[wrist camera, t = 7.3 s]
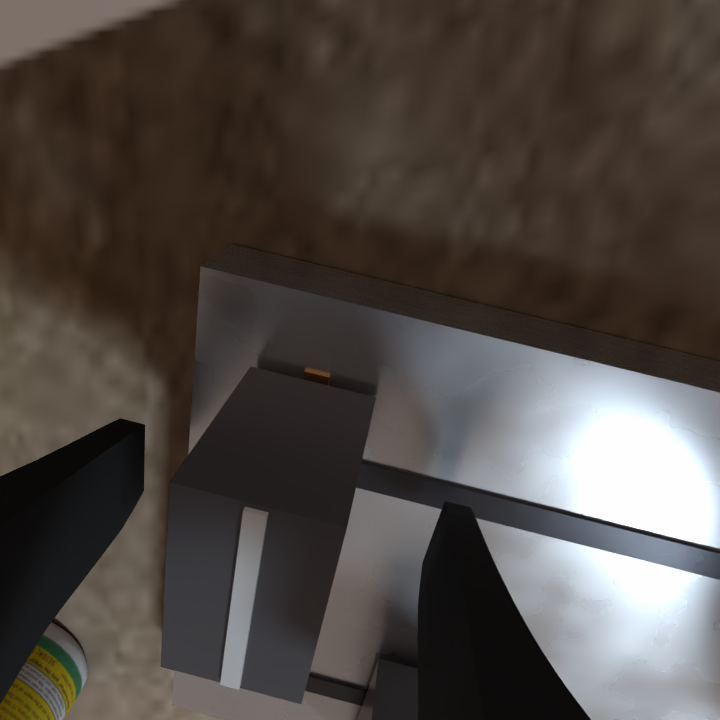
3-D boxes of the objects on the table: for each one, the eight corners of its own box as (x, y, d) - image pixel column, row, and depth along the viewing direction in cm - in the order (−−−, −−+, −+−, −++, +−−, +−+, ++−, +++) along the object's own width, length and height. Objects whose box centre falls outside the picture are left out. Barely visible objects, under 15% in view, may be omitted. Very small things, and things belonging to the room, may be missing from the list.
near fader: (376, 397, 12) (345, 532, 9) (337, 549, 15) (300, 709, 11) (250, 366, 13) (165, 486, 9) (231, 522, 15) (158, 671, 11)
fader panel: (945, 415, 13) (1027, 468, 11) (640, 774, 21) (659, 840, 19) (231, 243, 14) (198, 267, 12) (194, 654, 22) (170, 708, 20)
